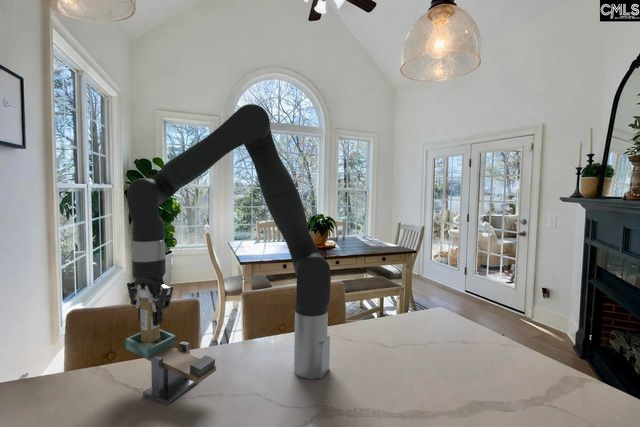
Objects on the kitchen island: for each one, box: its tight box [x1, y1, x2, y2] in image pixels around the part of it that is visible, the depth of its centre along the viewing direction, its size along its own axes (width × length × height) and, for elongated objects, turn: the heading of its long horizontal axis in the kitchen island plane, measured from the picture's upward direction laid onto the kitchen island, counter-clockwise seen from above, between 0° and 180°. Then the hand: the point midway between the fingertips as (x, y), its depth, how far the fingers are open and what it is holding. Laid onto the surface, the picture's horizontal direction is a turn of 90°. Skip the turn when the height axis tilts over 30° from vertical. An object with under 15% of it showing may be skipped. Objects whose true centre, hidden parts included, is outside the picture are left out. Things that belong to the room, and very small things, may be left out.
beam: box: [124, 328, 217, 385], centre depth 80 cm, size 23×8×4 cm, turn 68°
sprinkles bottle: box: [140, 289, 161, 343], centre depth 82 cm, size 5×5×13 cm
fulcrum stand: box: [142, 341, 197, 406], centre depth 80 cm, size 8×10×10 cm
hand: (150, 322), depth 82 cm, fingers closed on sprinkles bottle, 4 cm apart
